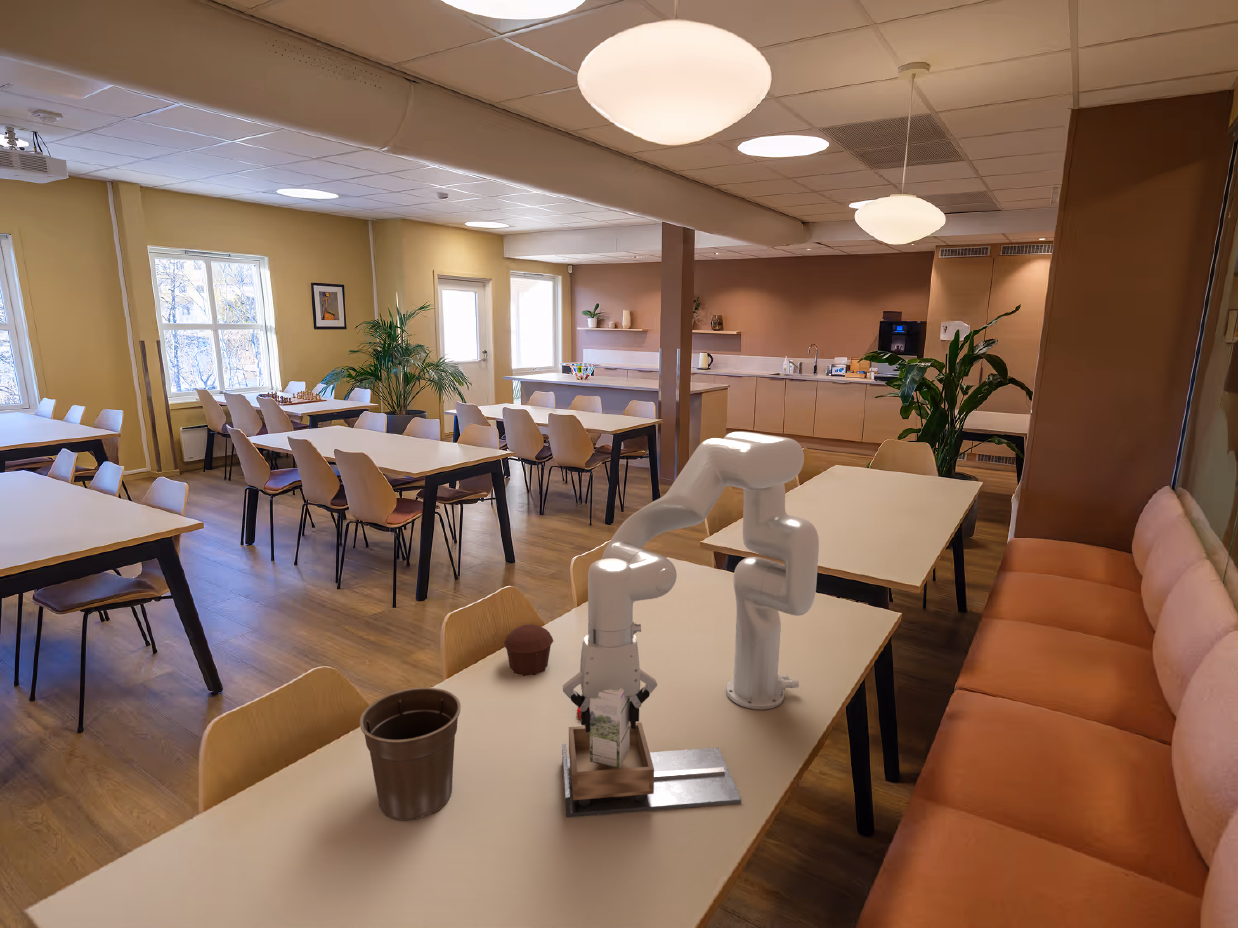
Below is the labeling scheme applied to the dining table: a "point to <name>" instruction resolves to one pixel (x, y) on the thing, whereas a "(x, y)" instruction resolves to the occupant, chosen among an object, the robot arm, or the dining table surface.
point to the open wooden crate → (610, 769)
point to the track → (666, 785)
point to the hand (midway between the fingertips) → (609, 725)
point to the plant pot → (412, 750)
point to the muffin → (528, 649)
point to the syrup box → (609, 728)
